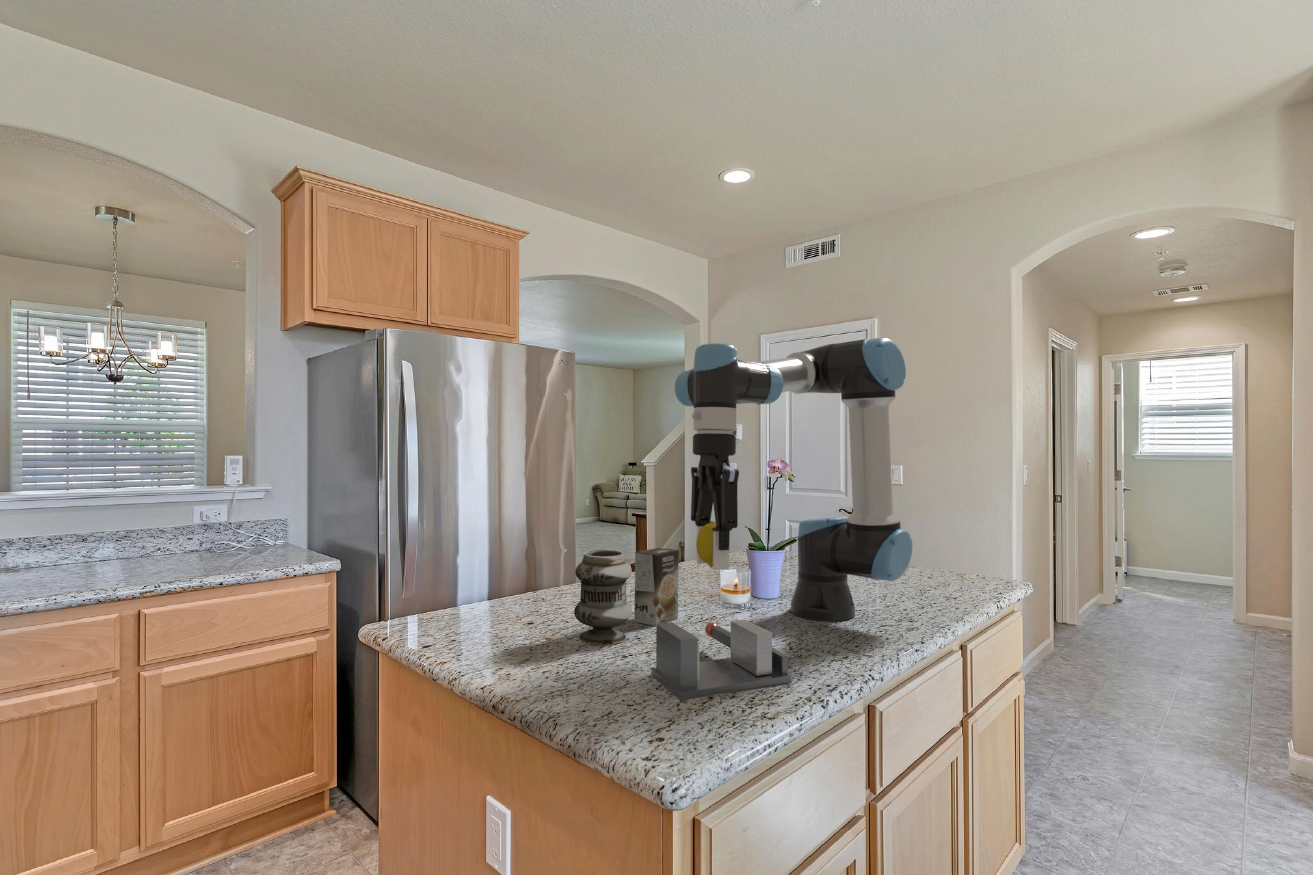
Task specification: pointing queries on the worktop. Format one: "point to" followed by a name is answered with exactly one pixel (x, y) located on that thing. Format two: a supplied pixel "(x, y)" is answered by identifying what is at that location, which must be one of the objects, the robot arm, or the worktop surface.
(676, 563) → the coffee box
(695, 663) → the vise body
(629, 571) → the apothecary jar
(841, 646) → the worktop surface
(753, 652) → the free jaw
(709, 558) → the lemon
